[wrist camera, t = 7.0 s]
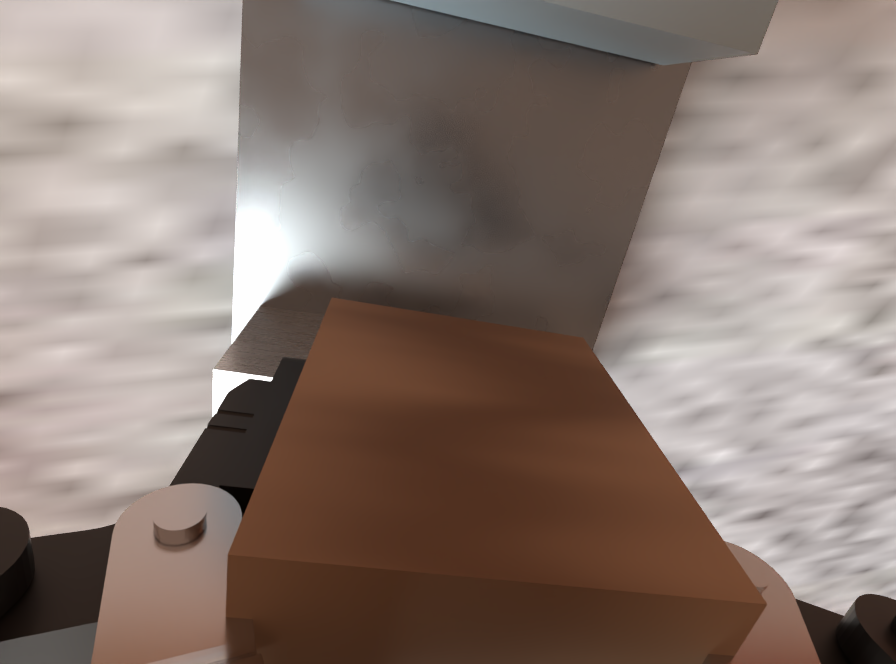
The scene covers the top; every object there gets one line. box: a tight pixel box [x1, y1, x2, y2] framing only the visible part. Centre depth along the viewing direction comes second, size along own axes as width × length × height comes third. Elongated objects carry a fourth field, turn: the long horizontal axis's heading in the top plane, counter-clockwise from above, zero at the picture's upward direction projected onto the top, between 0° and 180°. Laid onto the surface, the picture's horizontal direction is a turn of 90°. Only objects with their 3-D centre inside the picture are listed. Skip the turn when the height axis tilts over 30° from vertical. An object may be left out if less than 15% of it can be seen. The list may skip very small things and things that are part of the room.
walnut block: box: [226, 298, 767, 664], centre depth 8 cm, size 5×4×6 cm
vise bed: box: [212, 0, 692, 417], centre depth 15 cm, size 14×26×7 cm, turn 169°
